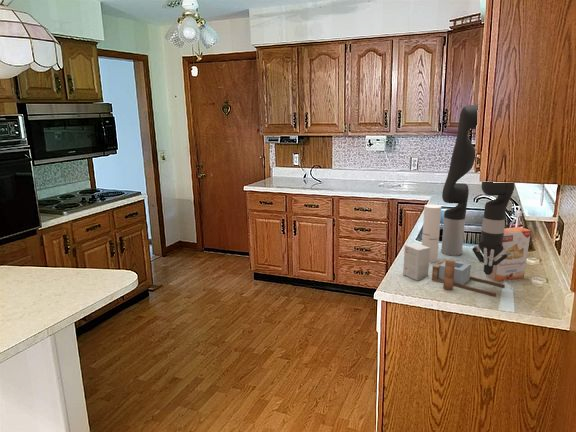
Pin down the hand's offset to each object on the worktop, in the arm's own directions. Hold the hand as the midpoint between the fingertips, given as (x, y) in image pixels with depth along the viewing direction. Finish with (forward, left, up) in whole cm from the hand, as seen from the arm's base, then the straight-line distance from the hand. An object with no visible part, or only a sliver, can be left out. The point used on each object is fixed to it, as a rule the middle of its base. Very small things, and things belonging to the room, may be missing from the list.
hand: (487, 273), depth 168 cm
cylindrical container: (-19, -31, -7) cm, 37 cm away
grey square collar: (0, -12, -6) cm, 13 cm away
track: (0, -7, -7) cm, 10 cm away
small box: (+3, -27, -7) cm, 28 cm away
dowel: (+9, -11, -7) cm, 16 cm away
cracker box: (-17, +2, -7) cm, 18 cm away
